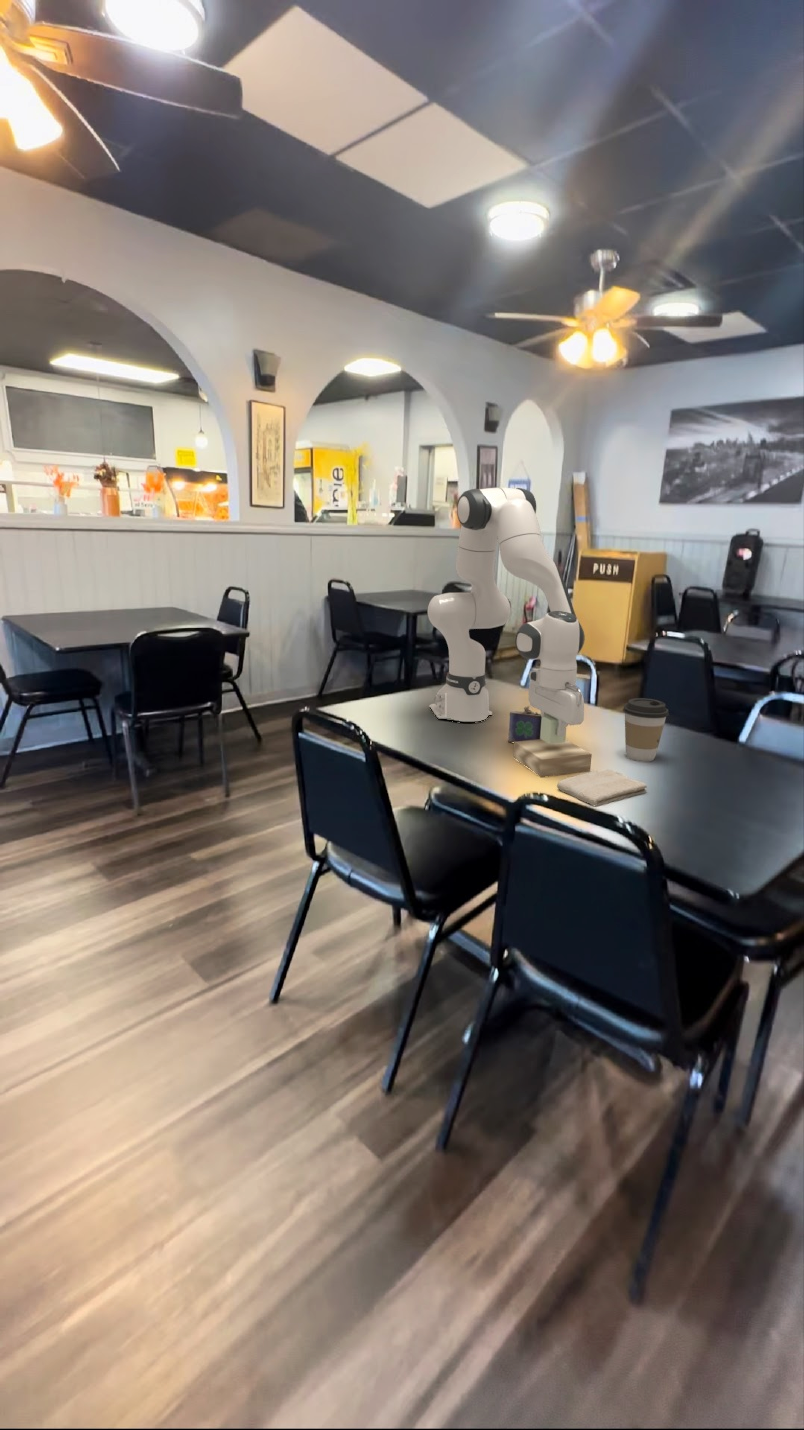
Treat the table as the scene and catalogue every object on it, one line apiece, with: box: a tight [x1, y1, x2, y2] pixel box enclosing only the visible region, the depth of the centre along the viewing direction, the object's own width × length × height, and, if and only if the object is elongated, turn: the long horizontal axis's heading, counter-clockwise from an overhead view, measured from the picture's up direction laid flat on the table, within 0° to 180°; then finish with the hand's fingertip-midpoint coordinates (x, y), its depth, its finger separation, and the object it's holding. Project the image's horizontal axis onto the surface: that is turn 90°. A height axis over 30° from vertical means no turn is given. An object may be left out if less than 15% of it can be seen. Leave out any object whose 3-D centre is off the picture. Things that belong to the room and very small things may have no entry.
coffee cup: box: [622, 697, 670, 763], centre depth 175 cm, size 11×11×15 cm
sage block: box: [540, 715, 567, 744], centre depth 168 cm, size 4×4×6 cm
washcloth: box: [556, 769, 648, 807], centre depth 154 cm, size 12×18×3 cm, turn 122°
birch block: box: [513, 738, 593, 778], centre depth 170 cm, size 14×14×5 cm
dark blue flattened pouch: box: [507, 705, 542, 743], centre depth 185 cm, size 9×3×11 cm, turn 65°
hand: (553, 732), depth 168 cm, fingers closed on sage block, 4 cm apart
